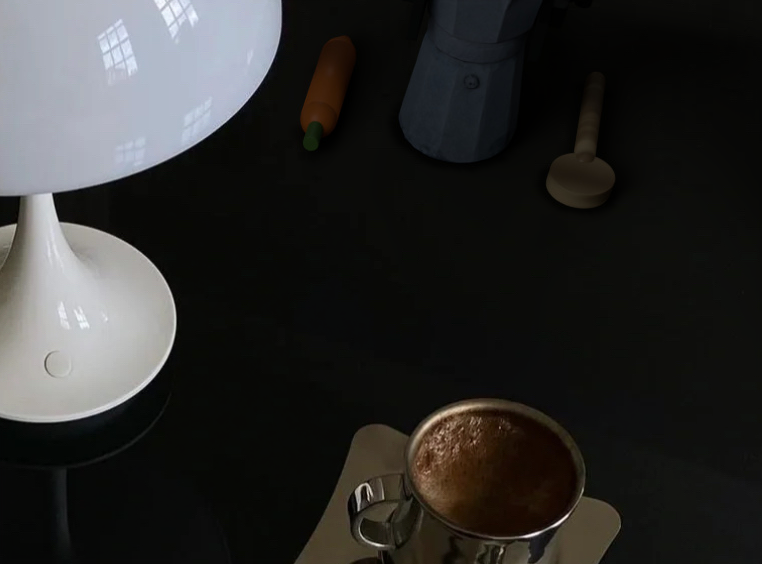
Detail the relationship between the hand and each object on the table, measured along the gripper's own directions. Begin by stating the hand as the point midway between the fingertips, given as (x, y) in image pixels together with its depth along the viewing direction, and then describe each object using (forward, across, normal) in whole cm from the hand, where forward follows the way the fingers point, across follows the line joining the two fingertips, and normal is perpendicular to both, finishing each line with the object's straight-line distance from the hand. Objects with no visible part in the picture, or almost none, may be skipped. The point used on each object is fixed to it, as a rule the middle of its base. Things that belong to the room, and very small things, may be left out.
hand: (476, 31), depth 91 cm
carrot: (-5, +10, -10) cm, 15 cm away
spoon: (-5, -10, -10) cm, 15 cm away
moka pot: (-5, 0, -11) cm, 12 cm away
